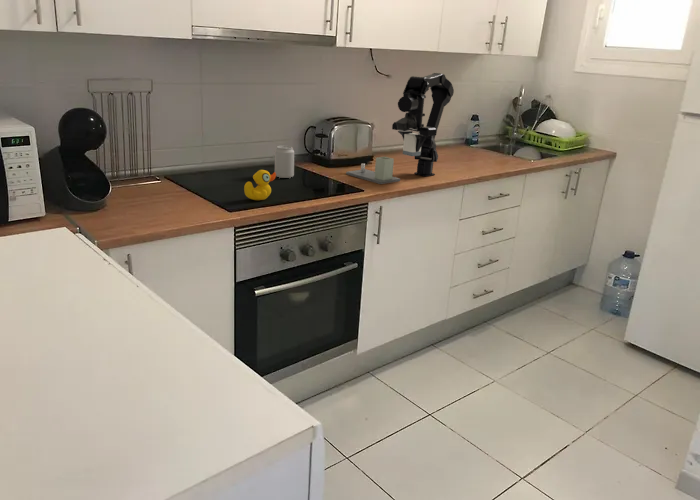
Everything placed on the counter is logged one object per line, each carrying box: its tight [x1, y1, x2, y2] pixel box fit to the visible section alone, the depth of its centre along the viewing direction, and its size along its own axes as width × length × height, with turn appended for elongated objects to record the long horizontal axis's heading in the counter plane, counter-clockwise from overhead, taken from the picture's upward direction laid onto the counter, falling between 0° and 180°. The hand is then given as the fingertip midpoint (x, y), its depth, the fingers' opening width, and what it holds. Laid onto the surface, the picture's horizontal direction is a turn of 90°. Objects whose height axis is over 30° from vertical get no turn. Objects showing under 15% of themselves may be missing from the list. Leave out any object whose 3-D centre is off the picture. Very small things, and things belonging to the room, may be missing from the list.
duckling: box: [243, 169, 277, 201], centre depth 193 cm, size 11×5×10 cm, turn 125°
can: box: [274, 145, 295, 179], centre depth 226 cm, size 8×8×12 cm
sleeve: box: [402, 132, 421, 157], centre depth 230 cm, size 5×5×8 cm
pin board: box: [345, 156, 401, 185], centre depth 234 cm, size 11×20×9 cm, turn 42°
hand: (412, 150), depth 231 cm, fingers closed on sleeve, 5 cm apart
